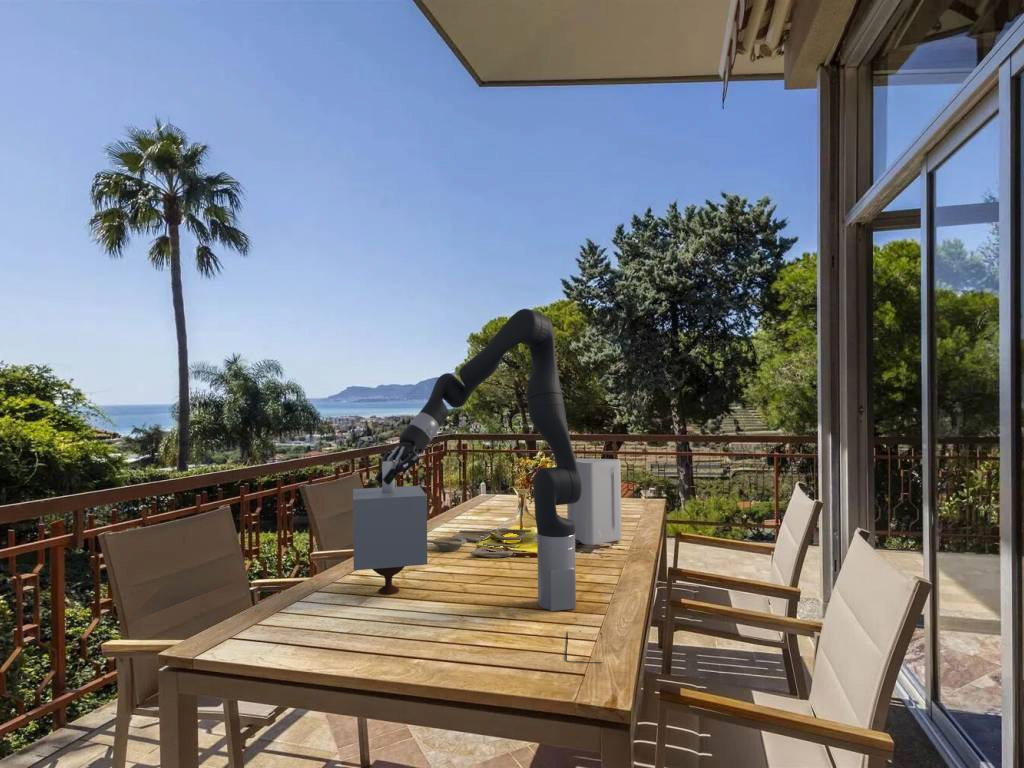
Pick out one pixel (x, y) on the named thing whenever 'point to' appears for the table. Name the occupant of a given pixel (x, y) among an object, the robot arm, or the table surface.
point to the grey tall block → (598, 502)
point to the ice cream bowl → (388, 580)
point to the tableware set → (466, 535)
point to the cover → (389, 525)
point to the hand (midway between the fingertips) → (381, 481)
